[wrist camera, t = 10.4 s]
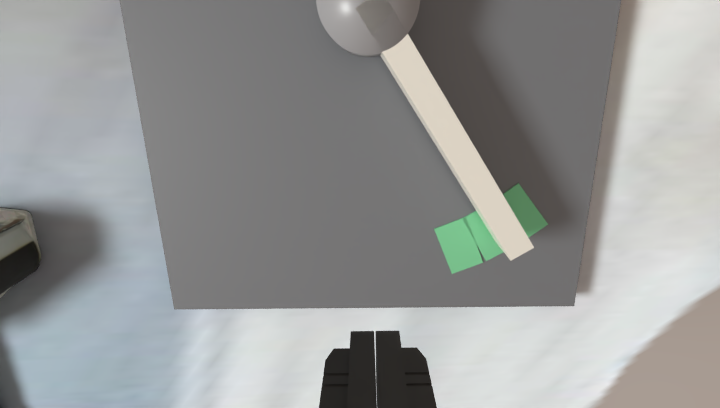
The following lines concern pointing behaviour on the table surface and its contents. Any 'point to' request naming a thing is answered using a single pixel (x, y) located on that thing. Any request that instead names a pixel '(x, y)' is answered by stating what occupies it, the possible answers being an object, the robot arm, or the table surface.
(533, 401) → the table surface
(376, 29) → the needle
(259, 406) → the table surface
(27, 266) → the tape dispenser
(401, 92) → the dial plate
